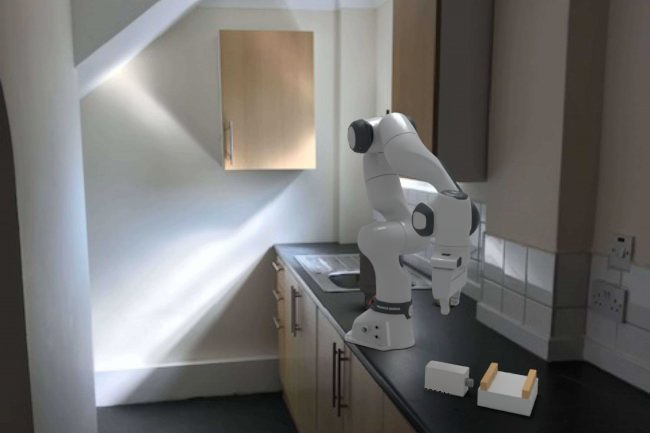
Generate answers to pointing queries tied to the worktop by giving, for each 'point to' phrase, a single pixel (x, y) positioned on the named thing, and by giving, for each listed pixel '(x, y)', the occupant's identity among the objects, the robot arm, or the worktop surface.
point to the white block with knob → (447, 378)
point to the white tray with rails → (508, 391)
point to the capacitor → (367, 279)
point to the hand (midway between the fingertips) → (450, 309)
